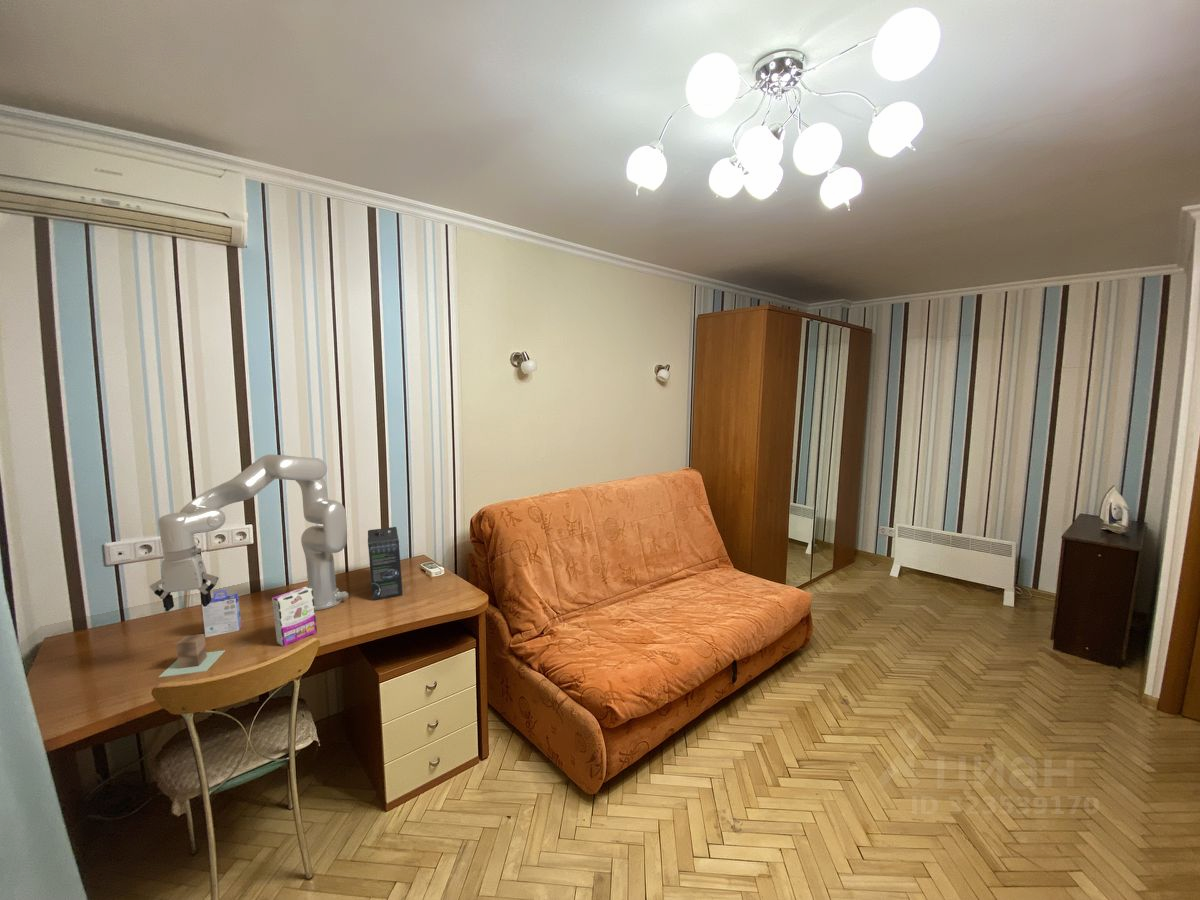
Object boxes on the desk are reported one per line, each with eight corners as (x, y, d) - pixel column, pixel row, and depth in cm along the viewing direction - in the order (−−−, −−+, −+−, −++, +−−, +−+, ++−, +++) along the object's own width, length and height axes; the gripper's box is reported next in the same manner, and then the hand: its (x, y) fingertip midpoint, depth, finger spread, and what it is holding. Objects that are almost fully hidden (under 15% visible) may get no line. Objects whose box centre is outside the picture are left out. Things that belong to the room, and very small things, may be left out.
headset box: (371, 581, 216) (367, 525, 212) (400, 577, 221) (397, 521, 217) (371, 601, 195) (366, 539, 192) (403, 595, 200) (399, 535, 197)
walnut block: (207, 657, 154) (204, 633, 153) (198, 666, 150) (195, 641, 148) (188, 659, 153) (185, 635, 152) (179, 668, 148) (176, 643, 147)
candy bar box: (310, 629, 173) (306, 585, 171) (317, 633, 170) (313, 588, 168) (275, 643, 163) (271, 597, 161) (283, 647, 161) (278, 600, 158)
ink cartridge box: (242, 624, 177) (238, 586, 175) (240, 630, 172) (235, 591, 170) (207, 631, 172) (203, 592, 170) (204, 638, 167) (200, 598, 166)
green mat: (225, 651, 159) (225, 650, 159) (206, 671, 147) (205, 670, 147) (181, 656, 156) (181, 655, 155) (158, 678, 144) (158, 677, 144)
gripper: (219, 546, 153) (226, 597, 155) (153, 552, 148) (162, 605, 151) (207, 554, 146) (215, 608, 148) (137, 561, 141) (147, 616, 144)
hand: (188, 606), depth 150 cm, fingers open, 9 cm apart
